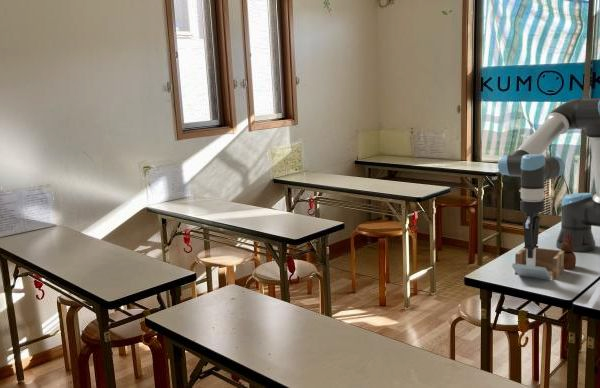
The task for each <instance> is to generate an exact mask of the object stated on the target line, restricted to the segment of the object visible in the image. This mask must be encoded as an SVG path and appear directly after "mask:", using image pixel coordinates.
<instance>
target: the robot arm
mask: <svg viewBox="0 0 600 388" xmlns="http://www.w3.org/2000/svg"><path fill="white" fill-rule="evenodd" d="M576 129H577V130H584V135H585V137H586V138H588V139H589V142H590V151H591V159H592V168H593V176H594V177H593V178H594V186H595V194H594V195H593V193H591V192H578V193H577V192H576V193H569V194H565V195H564V196H563V197H562V198H561V199H562V200H561V216H560V217H561V221H560V223H561V224H560V226H561V227H560V231H559V234H558V236H557V238H556V241H555V246H556V247H557V248H558V249H559V250H561V243H562V242H564V238H565V237H566V235H567V236H568V233H569V237H570V233H572V242H573V244H574V251H573V252H578V253H579V252H591V251H595V250H596V241H595V238H594V235H593V231H592V227H598V228H600V97H599V98H575V99H571V100H569V101H566V102H564V103H562V104H560V105H559V106H557V107H555V108H554V109H552V110H551V111H550V113H548V114H547V115H546V116H545V119H544V122H543V123H542V124H541V125H540V126H539V127H538V128H537V129H536V130H535V131H534V132H533V133H532V134H531V135H530V136H529V137H528V138H527V139H526V140H525V141H524V142H523V143H522V144H521V145H520V146H519V147H518V148H517V149H516V150H515V151H514V152H513V153H511V154H507V155H506V154H504V155H501V156H500V157H499V159H498V161H497V168H498V172H499V174H501V175H504V176H509V177H518V178H519V177H520V189H518V191H519V193H520V199H521V200H520V201H519V202H520V211H521V212H523V213H525V216H524V222H523V223H522V228H523V238H524V239H523V240H524V242H523V243H524V246H523V247H524V248H525V249H527V253H526V265H530V266H535V264H536V248H539V245H538V243H539V232H540V231H539V230H540V223H541V222H540V221H541V216H539V213H542V212H544V210H545V201H544V199H545V181H547V180H551V179H553V180H554V179H556V178H559V177H560V176H562V175H563V174H564V172H565V170H566V165H565V162H564V160H563V159H562V158H560V157H559V156H555V155H554V156H548V157H547V156H545V155H544V152H545V151H546V150H547V149H548V147H550V146H551V145H552V144H553V143H554V142H555V140H557V139H558V138H559V136H561V135H564V134H566V133H567V132H568V131H570V130H576Z"/></svg>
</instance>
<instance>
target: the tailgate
mask: <svg viewBox="0 0 600 388" xmlns="http://www.w3.org/2000/svg"><path fill="white" fill-rule="evenodd" d="M511 267H512V268H513V270H514V272H515V271H516V272H517V274H518V275H517V276H521V277H528V278H534V279H541V280H543V279H544V280H552V279H551V276H550V274H549V273H548V271H547V269H546V268H545V267H538V266H530V265H522V264H515V263H514V262H513V263H512V265H511Z"/></svg>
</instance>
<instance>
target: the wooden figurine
mask: <svg viewBox="0 0 600 388" xmlns="http://www.w3.org/2000/svg"><path fill="white" fill-rule="evenodd" d="M560 250H562V251H564V270H574V269H575V268H576V264H577V257H576V254H575V251H574V244H573V242H572V233H570V237H569V233H568V236H567V235H566V237H565V238H564V242H562V243H561V249H560Z"/></svg>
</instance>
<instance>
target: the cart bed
mask: <svg viewBox="0 0 600 388" xmlns="http://www.w3.org/2000/svg"><path fill="white" fill-rule="evenodd" d="M524 247H525V246H523V247H522V248H521V249H520V250H518V252H516V253H515V258H514V260H515V261H514V262H515V263H514V264H522V265H526V253H527V249H525V248H524ZM535 266H538V267H545V268H546V269H547V271H548V273H549V274H550V276H551V279H550V280H552V281H557V279H558V278H559V277H560V275H562V273H564V271H565V269H564V251H562V250H561V249H550V248H545V247H543V248H542V247H538V248H536V264H535ZM514 275H515V276H516V275H517V276H519V275H518V274H517V272H516V271H515V270H514Z"/></svg>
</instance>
